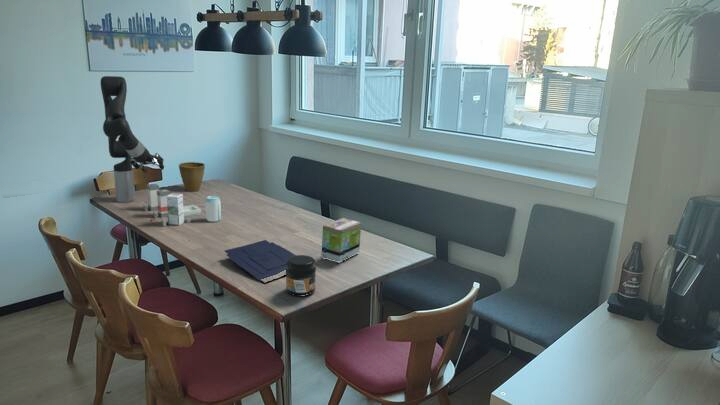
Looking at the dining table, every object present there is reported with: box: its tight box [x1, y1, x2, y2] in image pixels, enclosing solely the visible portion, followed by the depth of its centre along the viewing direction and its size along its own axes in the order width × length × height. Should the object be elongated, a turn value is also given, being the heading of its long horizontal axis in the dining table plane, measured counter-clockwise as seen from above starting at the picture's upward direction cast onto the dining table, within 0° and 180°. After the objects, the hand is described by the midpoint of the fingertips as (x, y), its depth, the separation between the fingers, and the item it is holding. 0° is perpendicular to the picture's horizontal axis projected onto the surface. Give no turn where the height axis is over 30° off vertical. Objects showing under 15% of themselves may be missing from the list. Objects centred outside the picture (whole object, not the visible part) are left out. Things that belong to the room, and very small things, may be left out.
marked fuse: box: [157, 188, 171, 219], centre depth 258 cm, size 5×5×13 cm
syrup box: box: [167, 193, 185, 226], centre depth 247 cm, size 6×6×14 cm
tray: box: [183, 204, 202, 218], centre depth 265 cm, size 10×10×2 cm
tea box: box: [320, 217, 362, 261], centre depth 215 cm, size 15×10×15 cm
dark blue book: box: [224, 239, 296, 281], centre depth 205 cm, size 24×30×4 cm
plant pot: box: [178, 161, 206, 193], centre depth 308 cm, size 15×15×16 cm
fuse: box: [146, 183, 160, 212], centre depth 268 cm, size 5×5×13 cm
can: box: [205, 195, 222, 223], centre depth 255 cm, size 7×7×12 cm
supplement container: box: [285, 254, 317, 296], centre depth 181 cm, size 10×10×12 cm
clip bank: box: [142, 204, 191, 227], centre depth 258 cm, size 32×15×2 cm, turn 41°
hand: (154, 169), depth 252 cm, fingers open, 8 cm apart
